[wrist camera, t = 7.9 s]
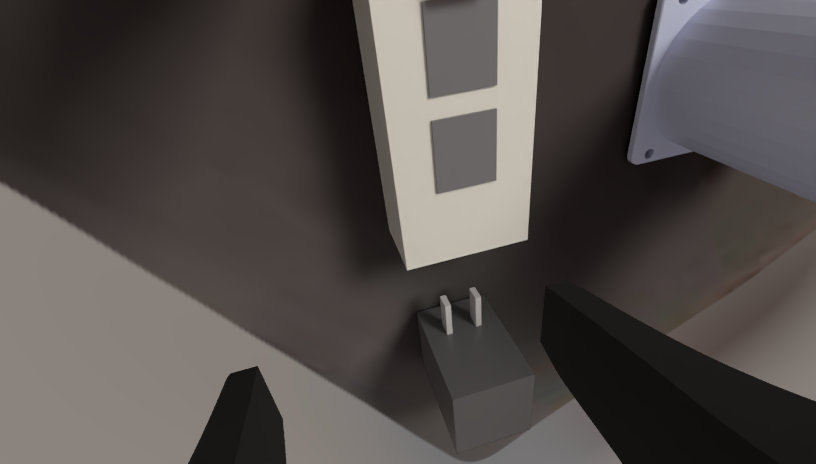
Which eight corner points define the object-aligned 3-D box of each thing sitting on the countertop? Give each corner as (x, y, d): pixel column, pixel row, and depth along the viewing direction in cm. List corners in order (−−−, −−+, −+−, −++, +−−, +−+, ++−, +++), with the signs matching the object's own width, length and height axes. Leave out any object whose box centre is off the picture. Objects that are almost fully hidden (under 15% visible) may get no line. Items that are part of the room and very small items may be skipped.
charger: (483, 266, 23) (538, 344, 18) (484, 347, 26) (530, 430, 21) (412, 285, 22) (450, 370, 17) (423, 365, 25) (457, 454, 21)
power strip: (497, -423, 11) (596, -601, 7) (494, 204, 21) (534, 247, 18) (283, -429, 10) (286, -633, 6) (389, 229, 20) (410, 279, 17)
